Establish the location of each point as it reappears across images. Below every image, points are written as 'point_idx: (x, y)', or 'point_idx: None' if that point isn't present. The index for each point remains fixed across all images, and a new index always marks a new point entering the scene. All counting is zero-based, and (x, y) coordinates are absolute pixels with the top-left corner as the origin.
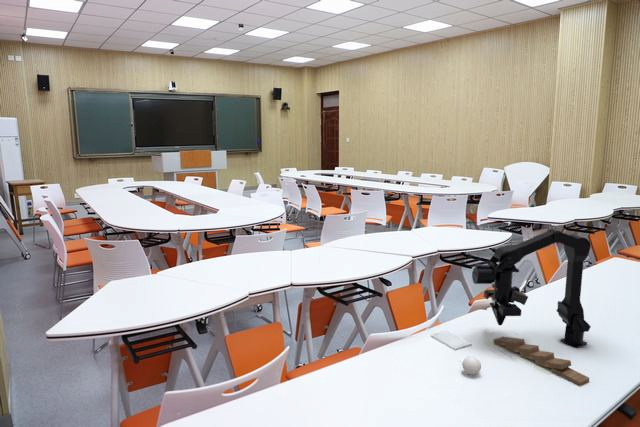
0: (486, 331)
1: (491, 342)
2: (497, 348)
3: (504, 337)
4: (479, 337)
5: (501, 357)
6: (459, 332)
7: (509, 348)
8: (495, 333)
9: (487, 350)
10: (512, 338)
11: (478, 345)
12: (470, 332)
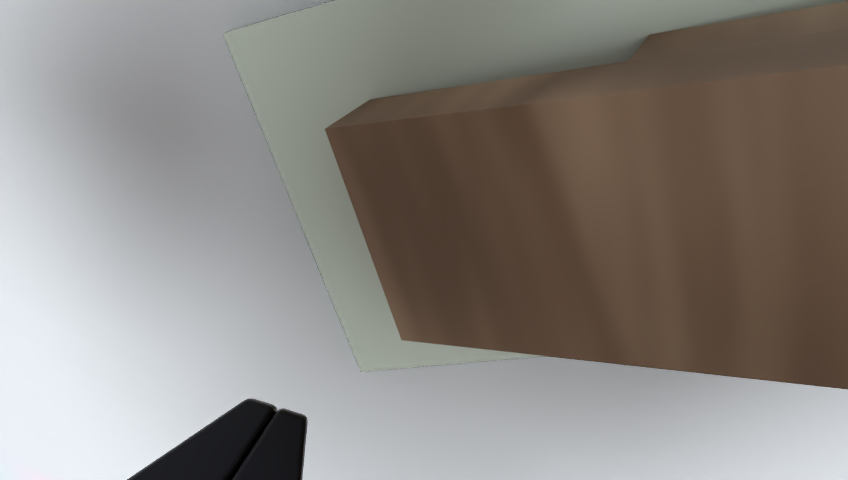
0: (20, 115)
1: (384, 300)
2: None
3: (404, 169)
4: (206, 316)
5: (786, 433)
6: (81, 418)
7: None
8: (77, 20)
9: (550, 447)
10: (589, 156)
11: (406, 448)
12: (71, 323)
